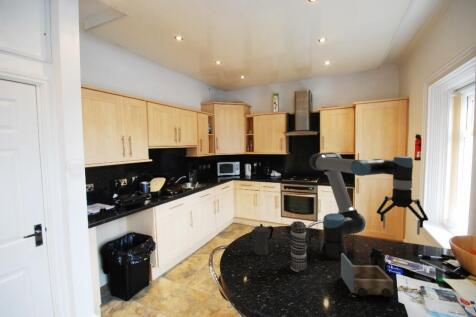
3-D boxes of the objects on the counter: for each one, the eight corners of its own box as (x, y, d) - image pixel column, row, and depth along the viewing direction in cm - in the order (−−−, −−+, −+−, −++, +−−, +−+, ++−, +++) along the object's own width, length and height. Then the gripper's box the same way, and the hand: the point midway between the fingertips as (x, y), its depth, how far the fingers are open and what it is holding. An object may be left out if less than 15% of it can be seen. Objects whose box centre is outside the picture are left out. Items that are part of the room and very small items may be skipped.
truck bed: (356, 297, 96) (356, 281, 95) (342, 277, 110) (342, 263, 110) (394, 298, 95) (395, 282, 94) (376, 278, 109) (376, 264, 109)
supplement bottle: (366, 267, 119) (366, 245, 118) (378, 266, 119) (378, 244, 119) (375, 274, 112) (375, 251, 111) (388, 273, 113) (388, 250, 112)
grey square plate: (351, 292, 97) (352, 266, 96) (341, 276, 109) (341, 253, 108) (354, 293, 97) (354, 266, 96) (343, 276, 109) (343, 253, 108)
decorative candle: (295, 261, 126) (295, 218, 125) (310, 267, 120) (310, 222, 118) (286, 267, 120) (286, 222, 118) (301, 274, 113) (301, 227, 112)
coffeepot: (255, 257, 131) (255, 228, 130) (248, 251, 140) (248, 223, 139) (277, 252, 137) (277, 224, 136) (269, 246, 146) (269, 219, 145)
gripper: (434, 189, 103) (432, 233, 105) (372, 184, 118) (371, 223, 119) (437, 192, 97) (435, 239, 99) (371, 186, 112) (370, 227, 113)
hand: (400, 230), depth 109 cm, fingers open, 13 cm apart
